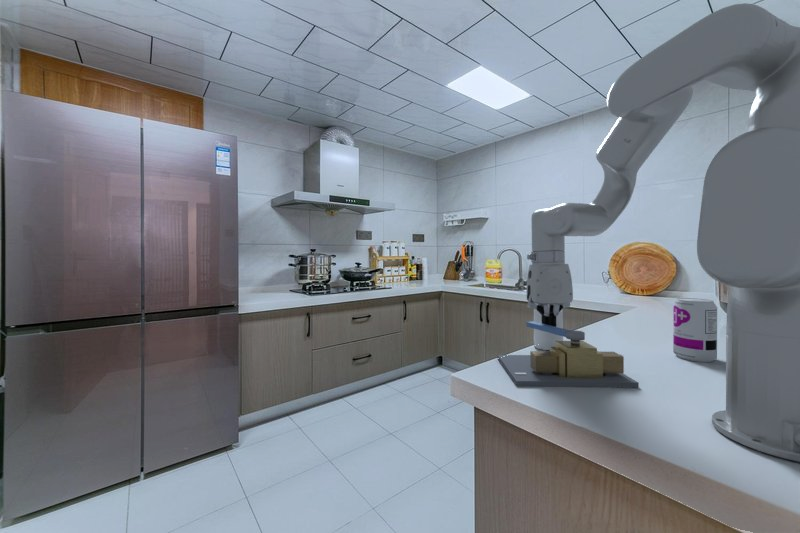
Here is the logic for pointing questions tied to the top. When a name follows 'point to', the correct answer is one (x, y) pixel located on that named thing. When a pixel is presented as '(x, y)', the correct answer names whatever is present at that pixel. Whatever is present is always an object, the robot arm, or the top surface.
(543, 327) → the lever
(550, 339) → the bottle
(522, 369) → the base plate
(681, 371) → the top surface
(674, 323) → the supplement can
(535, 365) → the valve
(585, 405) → the top surface
